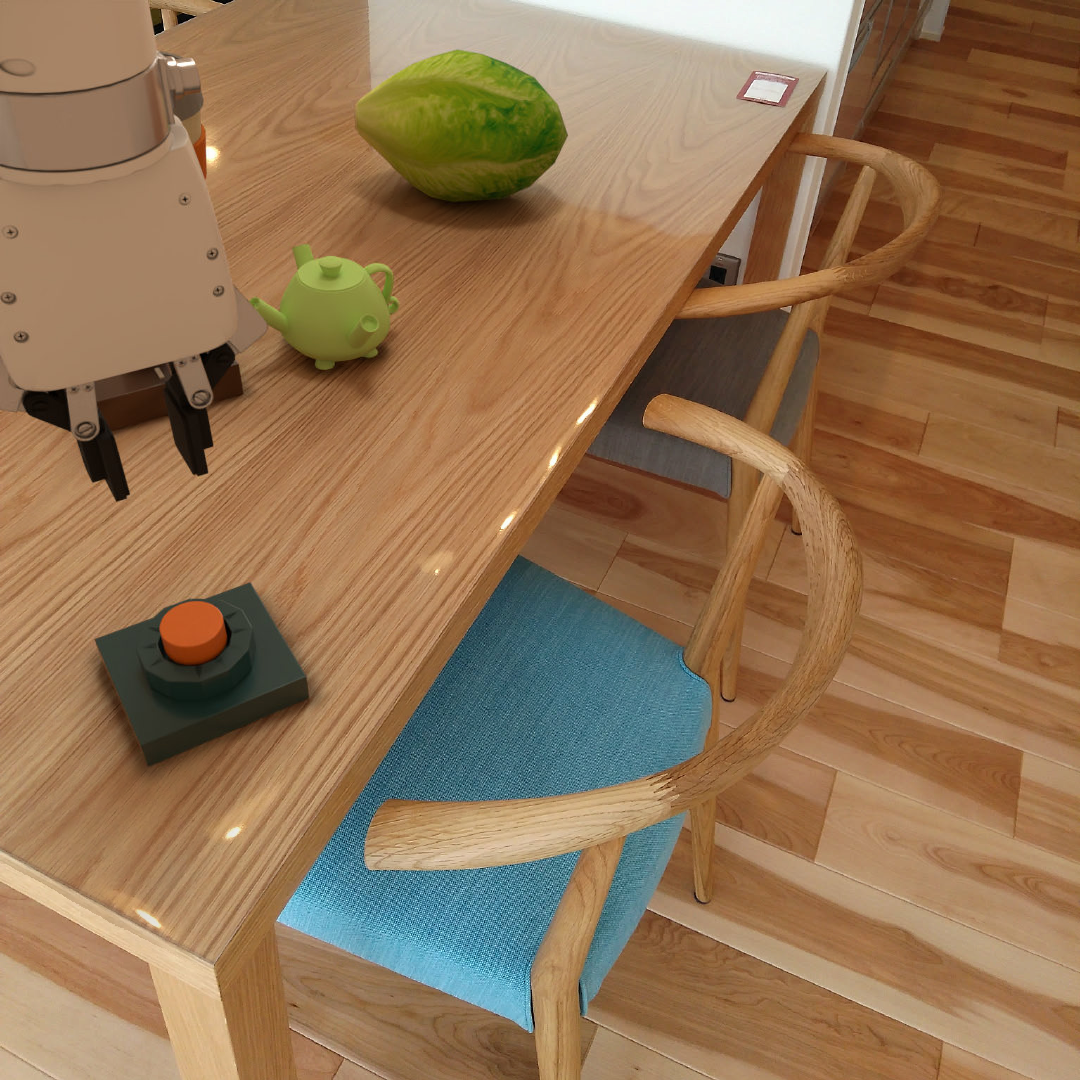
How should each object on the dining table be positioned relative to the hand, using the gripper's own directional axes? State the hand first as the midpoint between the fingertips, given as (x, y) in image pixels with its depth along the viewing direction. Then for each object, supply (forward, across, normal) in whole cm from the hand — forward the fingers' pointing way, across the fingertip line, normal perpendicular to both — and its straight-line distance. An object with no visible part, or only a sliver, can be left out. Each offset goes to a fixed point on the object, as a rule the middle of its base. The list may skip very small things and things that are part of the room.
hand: (153, 469), depth 52 cm
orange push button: (+14, 0, 0) cm, 14 cm away
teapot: (+17, -22, -30) cm, 41 cm away
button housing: (+17, 0, 0) cm, 17 cm away
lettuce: (+17, -48, -52) cm, 73 cm away
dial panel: (+17, -7, -32) cm, 37 cm away
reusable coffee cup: (+17, -16, -58) cm, 63 cm away
